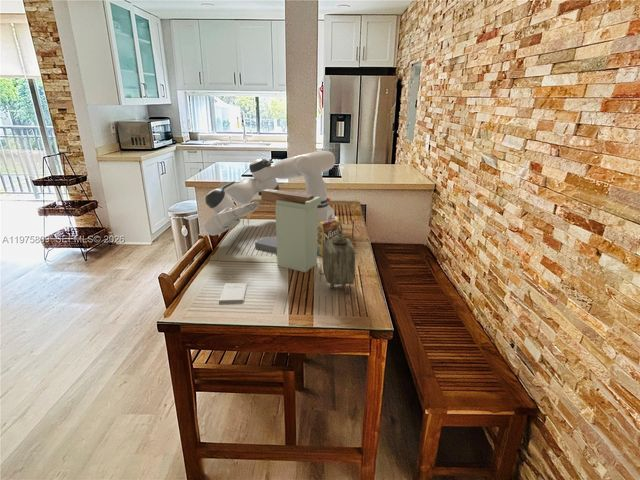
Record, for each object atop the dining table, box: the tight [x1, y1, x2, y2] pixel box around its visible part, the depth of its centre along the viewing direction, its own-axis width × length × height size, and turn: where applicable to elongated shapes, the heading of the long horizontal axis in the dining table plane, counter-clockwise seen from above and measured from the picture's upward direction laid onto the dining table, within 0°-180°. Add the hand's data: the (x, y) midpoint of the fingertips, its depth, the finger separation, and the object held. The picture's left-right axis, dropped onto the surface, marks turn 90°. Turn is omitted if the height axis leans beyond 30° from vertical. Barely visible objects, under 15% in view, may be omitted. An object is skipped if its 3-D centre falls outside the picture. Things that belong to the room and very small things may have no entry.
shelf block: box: [274, 196, 321, 273], centre depth 149 cm, size 10×15×29 cm, turn 61°
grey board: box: [254, 236, 277, 253], centre depth 169 cm, size 9×28×2 cm, turn 61°
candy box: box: [317, 218, 340, 257], centre depth 164 cm, size 9×4×15 cm, turn 123°
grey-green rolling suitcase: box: [322, 221, 356, 295], centre depth 132 cm, size 14×9×25 cm, turn 8°
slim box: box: [261, 189, 314, 204], centre depth 147 cm, size 4×22×4 cm, turn 61°
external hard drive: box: [218, 282, 248, 304], centre depth 132 cm, size 2×8×12 cm
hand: (251, 205), depth 157 cm, fingers open, 8 cm apart
